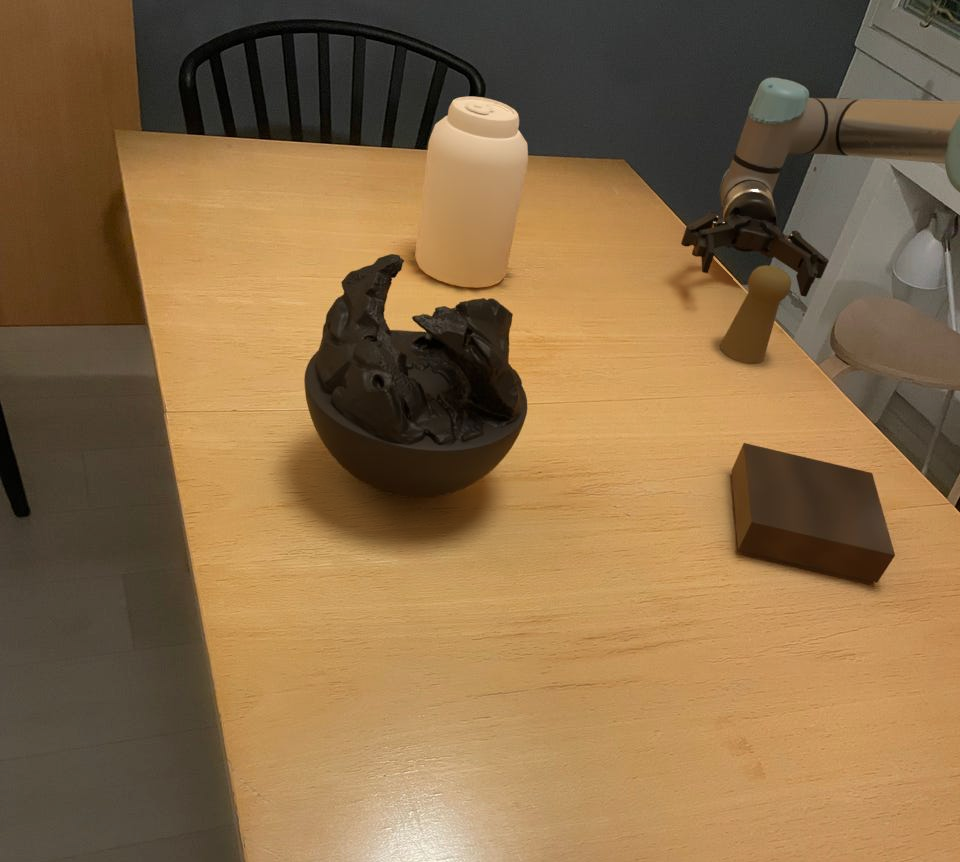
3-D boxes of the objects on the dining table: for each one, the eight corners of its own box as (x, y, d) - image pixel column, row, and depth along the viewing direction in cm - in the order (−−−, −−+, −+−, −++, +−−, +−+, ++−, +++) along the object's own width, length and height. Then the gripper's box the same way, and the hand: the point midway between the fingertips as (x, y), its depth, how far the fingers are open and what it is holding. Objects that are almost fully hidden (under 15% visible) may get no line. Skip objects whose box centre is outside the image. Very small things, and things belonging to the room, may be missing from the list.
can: (454, 297, 116) (480, 127, 102) (395, 255, 122) (412, 89, 108) (524, 281, 123) (557, 120, 109) (465, 242, 129) (490, 85, 115)
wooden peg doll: (711, 341, 120) (741, 259, 112) (747, 339, 122) (779, 258, 115) (736, 364, 116) (769, 282, 109) (773, 362, 119) (808, 281, 111)
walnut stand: (855, 502, 98) (872, 472, 95) (875, 586, 88) (895, 555, 86) (729, 473, 98) (743, 442, 95) (736, 553, 88) (751, 521, 85)
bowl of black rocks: (523, 548, 83) (572, 362, 70) (301, 539, 79) (309, 340, 66) (491, 425, 97) (527, 250, 84) (300, 412, 92) (306, 226, 79)
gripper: (819, 261, 138) (836, 322, 123) (660, 223, 138) (658, 280, 123) (841, 211, 133) (862, 268, 118) (676, 171, 133) (676, 224, 118)
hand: (758, 274), depth 120 cm, fingers open, 13 cm apart
